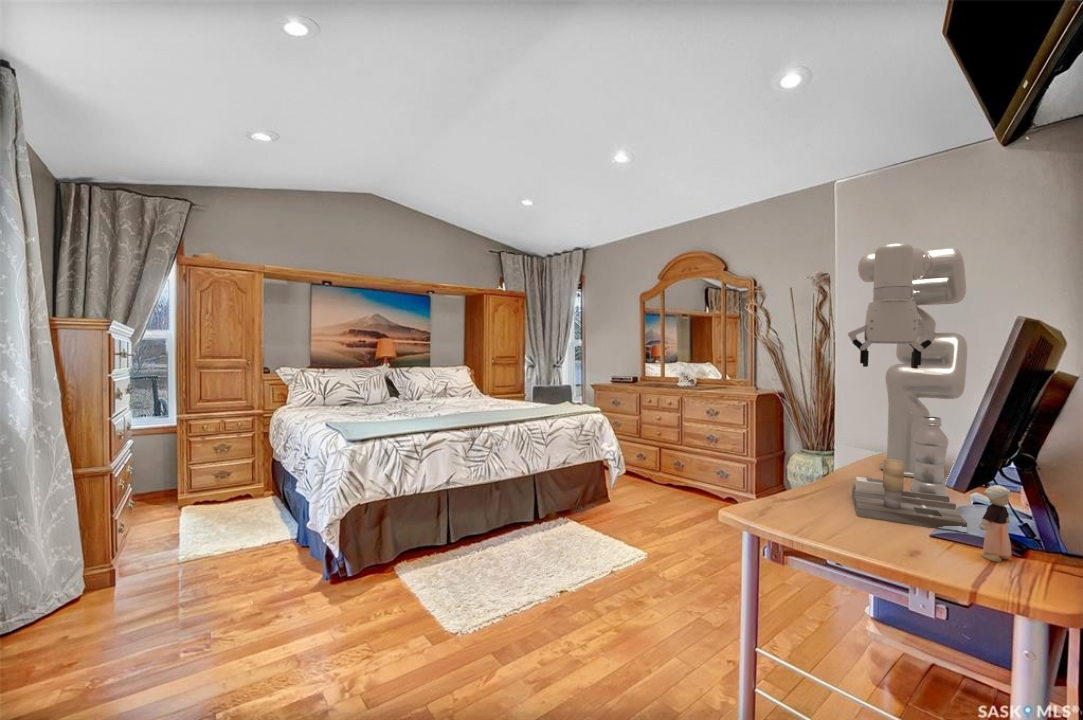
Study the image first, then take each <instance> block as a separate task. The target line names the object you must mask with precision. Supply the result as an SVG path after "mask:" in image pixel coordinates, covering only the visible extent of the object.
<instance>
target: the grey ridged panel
mask: <svg viewBox="0 0 1083 720" xmlns="http://www.w3.org/2000/svg"><path fill="white" fill-rule="evenodd" d="M851 497H852V500H854V501H853V505H854V506H855V510H856V511H855V512H856V514H857V515H856V516H857V517H860V518H861V517H862V518H868V519H872V520H873V519H875V520H879V521H887V522H894V523H899V524H900V523H901V524H906V525H914V526H920V527H926V528H933V529H938V527H943V526H962V527H967V528H968V522H967V521H966V520H965V519H964V518H963V516H962V515H961V514H960V513H959V512H958V511H957V509H956V508H957V505H956V503H954V502H950V496H949V495H948V496H947V495H946V496H942V495H934V494H926V493H918V492H912V490H911V491H910V490H903V491H902V493H901V509H891V508H887V507H885V506H884V494H880V493H872V492H865V491H857V490H856V483H855V484H854V483H853V484H852V488H851Z"/></svg>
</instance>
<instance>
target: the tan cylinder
mask: <svg viewBox="0 0 1083 720" xmlns="http://www.w3.org/2000/svg"><path fill="white" fill-rule="evenodd" d="M882 461H883V463H882V464H883V470H882V480H883V488H884V506H885V507H887V508H891V509H901V493H902V491H904V482H905V481H904V480H905V478H904V477H905V476H904V462H903V461H900V460H894V459H887V458H885V459H883V460H882Z"/></svg>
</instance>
